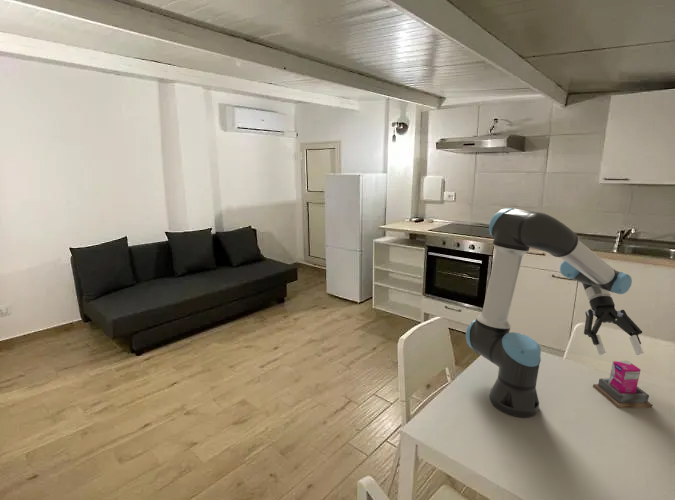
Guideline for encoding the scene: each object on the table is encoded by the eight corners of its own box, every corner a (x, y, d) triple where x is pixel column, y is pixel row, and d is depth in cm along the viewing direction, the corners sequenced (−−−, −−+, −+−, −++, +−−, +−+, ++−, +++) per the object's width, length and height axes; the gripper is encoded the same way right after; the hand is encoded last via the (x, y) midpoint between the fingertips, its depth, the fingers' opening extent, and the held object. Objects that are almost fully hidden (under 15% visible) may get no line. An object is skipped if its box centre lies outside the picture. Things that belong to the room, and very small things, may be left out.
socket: (617, 407, 127) (619, 397, 126) (592, 386, 138) (594, 376, 137) (652, 407, 127) (654, 397, 126) (624, 386, 139) (626, 376, 138)
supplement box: (606, 389, 135) (612, 360, 133) (622, 388, 136) (628, 360, 133) (618, 399, 130) (625, 369, 127) (635, 399, 130) (642, 369, 127)
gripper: (625, 302, 149) (647, 356, 138) (562, 302, 148) (580, 356, 137) (638, 295, 142) (663, 351, 131) (573, 294, 142) (593, 350, 131)
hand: (621, 354), depth 134 cm, fingers open, 13 cm apart
